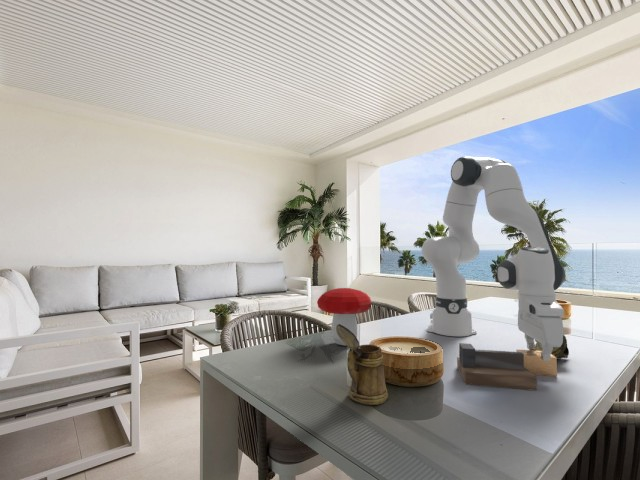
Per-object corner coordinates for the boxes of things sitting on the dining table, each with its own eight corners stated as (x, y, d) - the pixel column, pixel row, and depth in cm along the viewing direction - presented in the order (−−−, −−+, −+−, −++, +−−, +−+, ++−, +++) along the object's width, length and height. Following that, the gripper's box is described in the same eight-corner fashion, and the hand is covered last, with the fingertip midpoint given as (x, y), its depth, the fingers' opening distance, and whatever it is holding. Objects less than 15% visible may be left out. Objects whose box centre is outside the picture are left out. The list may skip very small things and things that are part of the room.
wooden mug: (325, 400, 76) (325, 320, 76) (368, 385, 84) (368, 313, 84) (352, 416, 69) (352, 327, 69) (396, 398, 77) (395, 319, 77)
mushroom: (379, 341, 123) (379, 287, 124) (361, 356, 107) (361, 293, 107) (330, 335, 132) (330, 284, 133) (307, 347, 116) (307, 289, 116)
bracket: (457, 367, 96) (456, 339, 96) (518, 372, 93) (518, 343, 93) (465, 384, 85) (465, 352, 85) (536, 390, 81) (536, 356, 81)
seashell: (585, 368, 96) (584, 332, 96) (541, 365, 98) (540, 330, 99) (566, 356, 106) (565, 324, 107) (526, 354, 109) (525, 323, 109)
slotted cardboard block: (516, 366, 97) (516, 349, 97) (548, 369, 95) (548, 351, 96) (523, 373, 92) (523, 355, 92) (558, 376, 90) (557, 357, 90)
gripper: (511, 299, 105) (512, 344, 104) (539, 310, 85) (541, 366, 84) (533, 299, 103) (535, 345, 103) (567, 311, 83) (569, 367, 83)
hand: (538, 354), depth 93 cm, fingers open, 8 cm apart
